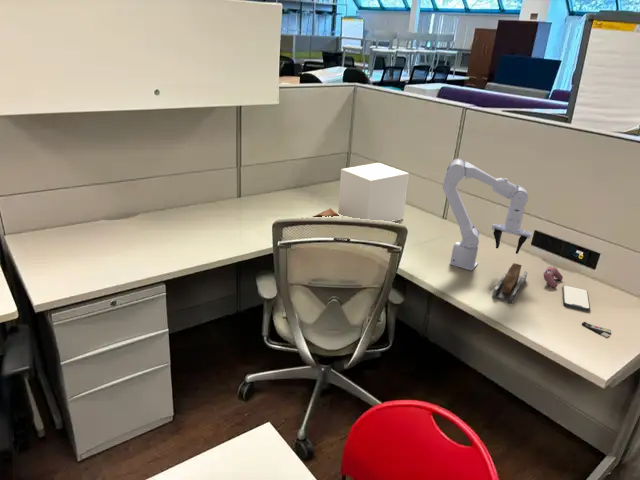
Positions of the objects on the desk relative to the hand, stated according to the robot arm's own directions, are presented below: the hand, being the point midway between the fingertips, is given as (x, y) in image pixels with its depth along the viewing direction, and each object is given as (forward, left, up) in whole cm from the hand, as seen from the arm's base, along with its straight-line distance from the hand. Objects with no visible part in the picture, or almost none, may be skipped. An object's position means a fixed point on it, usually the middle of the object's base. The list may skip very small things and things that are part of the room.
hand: (507, 250), depth 194 cm
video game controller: (+18, +3, -10) cm, 21 cm away
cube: (-70, +18, -10) cm, 73 cm away
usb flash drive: (+37, -23, -10) cm, 45 cm away
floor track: (+6, -13, -9) cm, 17 cm away
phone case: (+28, -6, -10) cm, 30 cm away
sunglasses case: (-85, +1, -10) cm, 86 cm away
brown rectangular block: (+6, -13, -8) cm, 17 cm away
